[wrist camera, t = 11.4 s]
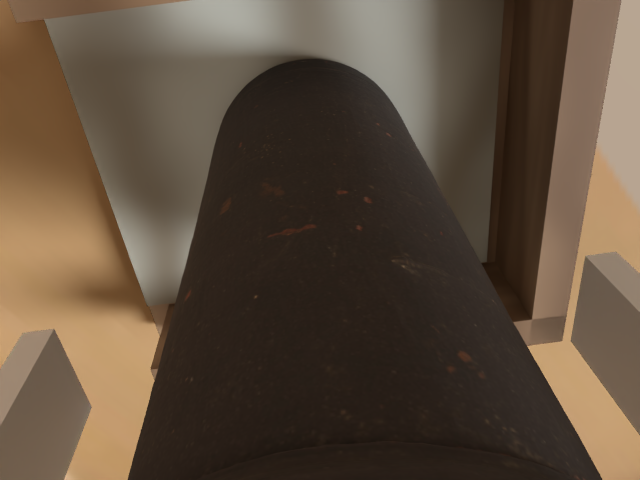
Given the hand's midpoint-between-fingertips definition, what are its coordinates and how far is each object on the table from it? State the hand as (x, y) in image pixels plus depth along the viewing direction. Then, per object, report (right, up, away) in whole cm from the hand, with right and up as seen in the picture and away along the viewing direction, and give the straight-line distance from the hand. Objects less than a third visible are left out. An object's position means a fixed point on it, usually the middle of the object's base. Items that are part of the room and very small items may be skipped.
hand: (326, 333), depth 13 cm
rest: (0, +7, +10) cm, 12 cm away
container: (-1, +6, +9) cm, 11 cm away
